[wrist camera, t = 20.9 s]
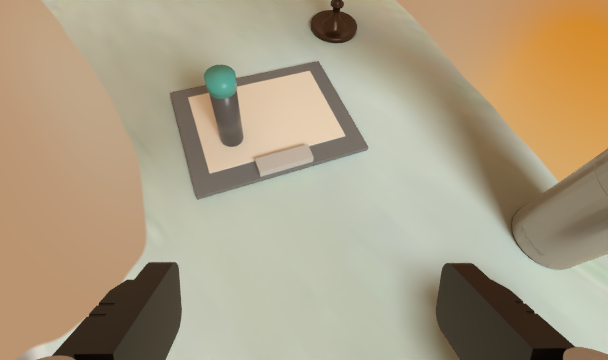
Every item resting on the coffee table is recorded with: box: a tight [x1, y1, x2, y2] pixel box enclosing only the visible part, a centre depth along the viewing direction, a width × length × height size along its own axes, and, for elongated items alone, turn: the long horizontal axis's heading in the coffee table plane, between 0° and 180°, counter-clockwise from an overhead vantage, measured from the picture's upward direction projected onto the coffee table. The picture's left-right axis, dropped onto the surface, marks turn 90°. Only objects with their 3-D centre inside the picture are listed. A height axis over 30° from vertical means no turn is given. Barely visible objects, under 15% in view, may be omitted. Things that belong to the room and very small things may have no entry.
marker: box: [204, 65, 244, 147], centre depth 44 cm, size 4×4×12 cm
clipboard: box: [170, 61, 368, 200], centre depth 52 cm, size 26×20×2 cm
